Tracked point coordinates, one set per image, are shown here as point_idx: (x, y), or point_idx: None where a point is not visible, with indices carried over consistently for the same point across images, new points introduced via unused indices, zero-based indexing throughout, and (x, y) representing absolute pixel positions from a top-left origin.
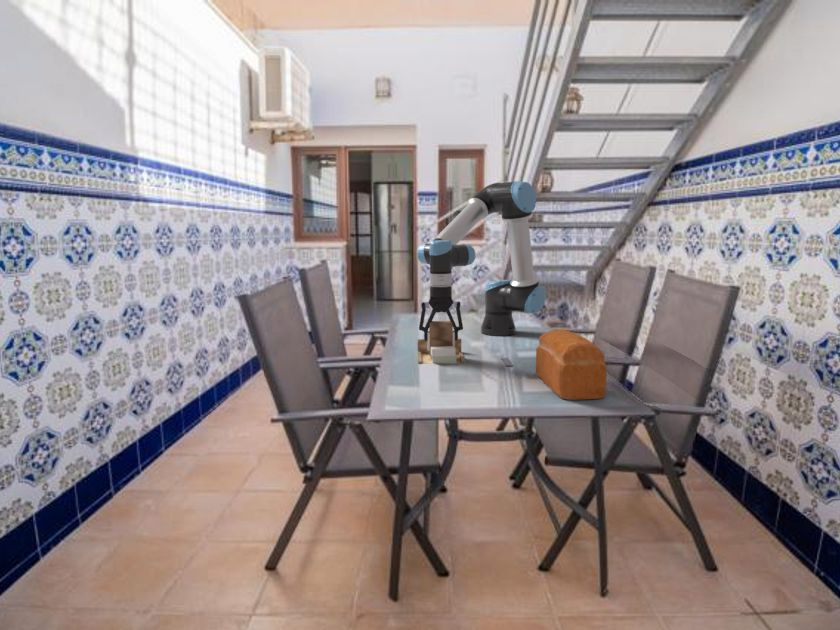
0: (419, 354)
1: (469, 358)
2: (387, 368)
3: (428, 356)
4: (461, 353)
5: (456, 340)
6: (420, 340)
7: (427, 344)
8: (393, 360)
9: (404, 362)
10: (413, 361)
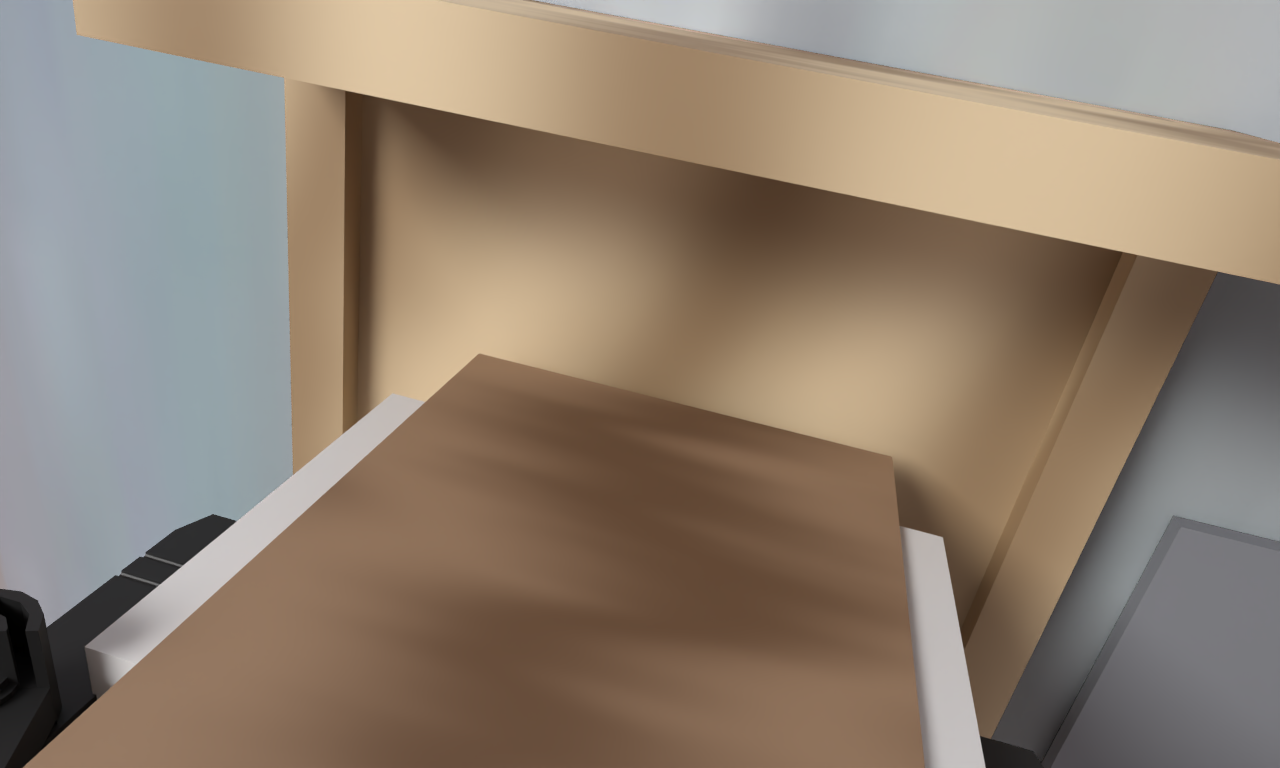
0: (315, 284)
1: (1232, 464)
2: (16, 575)
3: (475, 341)
4: (1123, 426)
5: (1224, 270)
6: (166, 51)
7: (341, 446)
8: (5, 252)
9: (160, 395)
10: (273, 380)
